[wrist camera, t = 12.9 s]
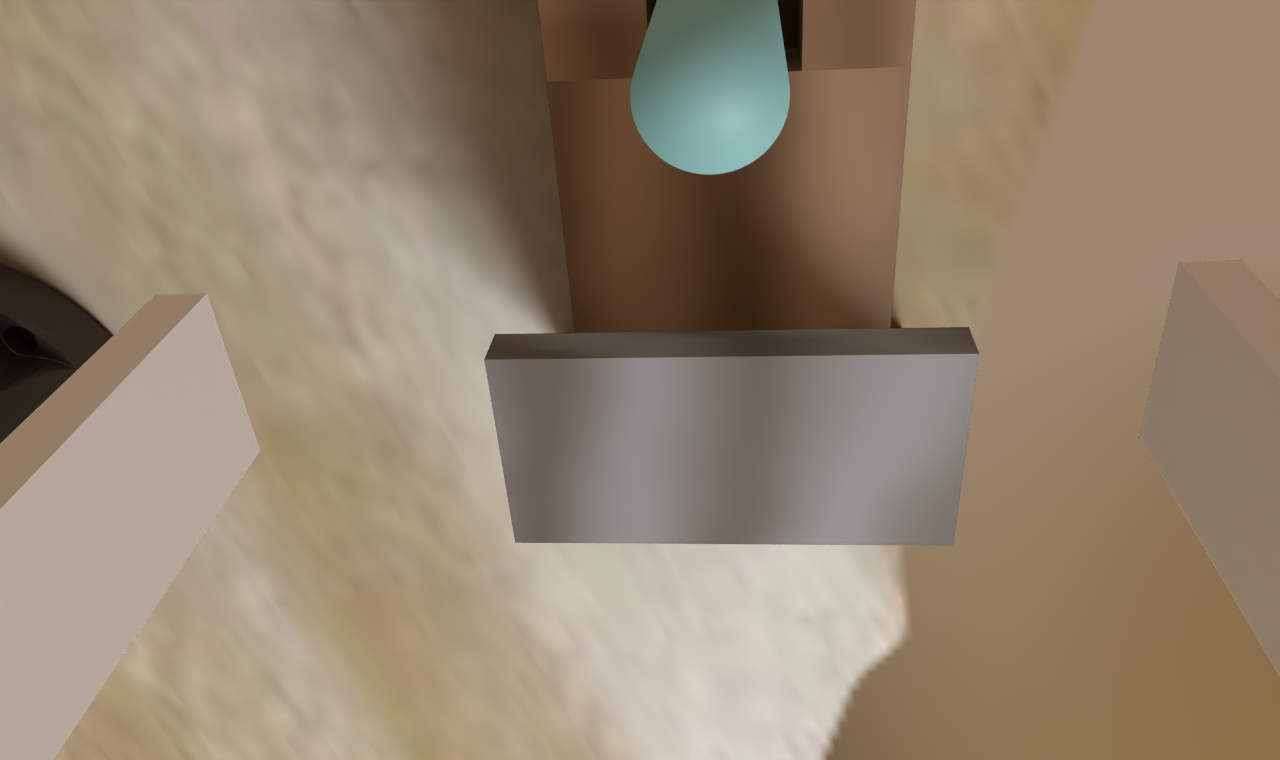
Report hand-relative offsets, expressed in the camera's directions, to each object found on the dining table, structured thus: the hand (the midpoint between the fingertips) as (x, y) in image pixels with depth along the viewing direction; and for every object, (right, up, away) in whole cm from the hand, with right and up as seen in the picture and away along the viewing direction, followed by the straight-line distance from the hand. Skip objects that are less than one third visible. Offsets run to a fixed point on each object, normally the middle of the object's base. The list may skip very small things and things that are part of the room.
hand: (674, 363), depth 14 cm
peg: (+2, +14, +20) cm, 25 cm away
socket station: (+3, +10, +23) cm, 25 cm away
